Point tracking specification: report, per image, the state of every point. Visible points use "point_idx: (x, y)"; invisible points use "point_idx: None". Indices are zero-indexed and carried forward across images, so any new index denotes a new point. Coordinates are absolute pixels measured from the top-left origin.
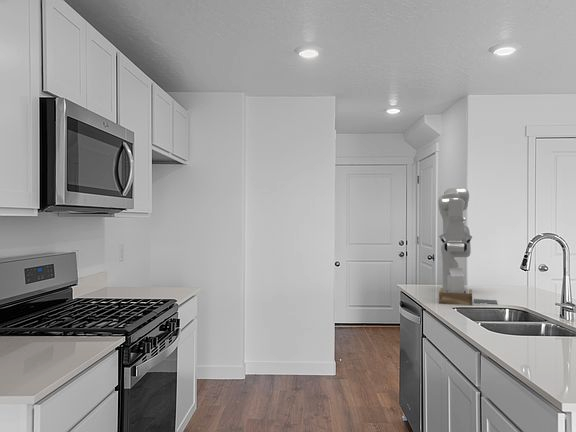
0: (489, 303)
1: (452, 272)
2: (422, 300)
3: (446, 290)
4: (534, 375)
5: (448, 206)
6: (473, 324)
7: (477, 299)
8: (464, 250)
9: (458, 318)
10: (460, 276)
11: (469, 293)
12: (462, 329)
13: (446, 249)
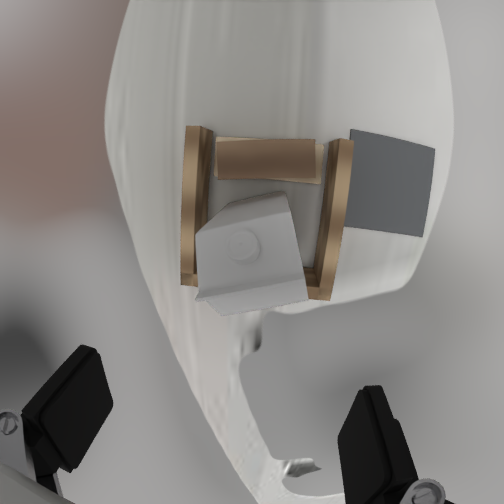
0: (396, 232)
1: (226, 301)
2: (130, 208)
3: (217, 154)
4: None
5: None
6: (275, 472)
7: (366, 139)
8: (342, 448)
9: (251, 446)
10: (283, 304)
11: (321, 285)
12: (252, 489)
13: (100, 418)
